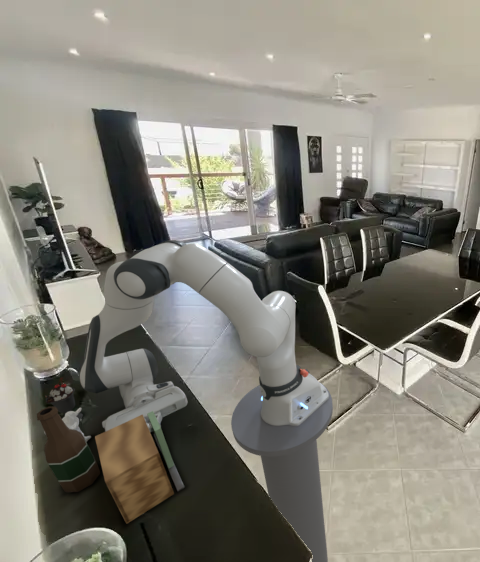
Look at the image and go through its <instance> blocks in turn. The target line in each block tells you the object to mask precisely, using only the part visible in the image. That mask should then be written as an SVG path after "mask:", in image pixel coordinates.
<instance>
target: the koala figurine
mask: <svg viewBox="0 0 480 562" xmlns="http://www.w3.org/2000/svg"><path fill="white" fill-rule="evenodd" d="M82 409H83V408H82V407H79V408H77V410H76V411H74V410H72V411H69V412H67V413H64V416H63V417H62V418H61V419H62V420H63V422H64V423H65V425H66V426H67V427H68V428H69V429H72V430H77V431H79V432H80V433H82V435H83V436H84V438H85V440H86V442H87V443H88V441H89V440H90V439H91V438H92V436H91V435H87V436H85V433H84V432H83V431H82V430H81V428H80V426H79V424H80V420H79V419H78V417H76V416H77V415H78V413H81V412H82ZM43 432H44V434H45V431H44V430H43Z"/></svg>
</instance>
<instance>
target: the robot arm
mask: <svg viewBox="0 0 480 562" xmlns="http://www.w3.org/2000/svg"><path fill="white" fill-rule="evenodd" d="M176 283H180V284H184V285H187V287H189V288H190V289H192V290H193V291H195V292H196V293H197V294H198V295H200V296H201V297H203V298H204V299H205V300H207V301H208V302H209V303H210V304H212V305H213V306H215V307H216V308H217V309H218V310H220V311H221V312H222V313H223V315H224V316H226V318H228V320H229V321H230V322H231V324H232V325H233V327H234V328H235V330H236V332H237V333H238V337H239V342H240V345H241V347H242V349H243V350H244V351H245V352H246V353H247V354H248V355H250V356H253V357H255V358H256V362H257V367H258V373H259V374H258V375H259V377H258V383H259V385H260V391H261V394H262V398H261V400H262V409H261V417H262V419H263V420H264V421H265V422H266V423H268V424H270V425H274V426H283V425H292V426H298V425H300V424H301V423H302V422H303V421H304V420H306V419H307V418H308V417H309V416H310V415H311V414H312V413H313V412H314V411H316V410H317V409H318V408H319V407H320V406H321V405H322V404H323V403H324V402H325V401H327V400H328V398H329V394H328V391H329V390H328V391H327V389H328V388H327V387H326V386H325V385H324V384H323V383H321V382H320V381H319V380H318V379H317V378H316V377H315V376H314V375H312V374H311V373H310V371H309V369H308V368H303V369H302V367H301V366H300V365H298V364H297V362H296V361H297V360H296V352H295V351H296V347H295V346H296V308H297V304H296V301H295V298H294V297H293V296H292V295H291V294H290V293H289V292H287V291H285V290H284V291H283V290H274V291H272V292H271V293H269V294H267V295H266V296H265V297H264V298H262V300H261V298H260V297H259V296H258V294H257V293H256V291H255V289H254V285H253V282H252V281H251V279H250V278H248V276H246V275H244V274H243V273H242V272H241V271H239V270H238V269H237V268H235V267H234V266H233V265H232V264H230V263H229V262H228V261H227V260H225V259H224V258H223V257H221V256H220V255H218V254H216V253H215V252H214V251H211V250H210V249H208V248H207V247H204V246H203V245H201V244H199V243H193V242H191V243H185V242H184V241H181V240H178V239H169V240H165V241H162V242H159V243H158V244H156V245H154V246H151V247H148V248H144V249H143V250H141V251H140V252H137V253H136V254H134V255H133V256H132V257H131V258H128V259H126V260H122V261H117V262H115V263H114V264H112V265H110V266H109V268H107V270H106V274H105V279H104V287H103V288H104V289H103V290H104V293H103V295H104V305H103V308H102V309H101V310H100V312H99V313H98V314H96V315H95V316H93V317H92V318H91V320H90V322H89V326H88V331H87V337H86V344H85V349H84V356H83V361H82V365H81V369H80V372H79V382H80V385H81V387H82V388H83V390H85V391H87V392H90V393H93V394H99V393H103V392H105V391H107V390H110V389H113V388H116V387H118V389H119V393H120V396H121V399H122V401H123V405H124V407H125V408H124V409H122V410H120V411H117V412H116V413H113V414H111V415H109V416H107V418H106V419H104V420H103V421H102V422H101V426H102V428H103V429H104V432H106V431H108V430H110V429H112V428H114V427H117V426H119V425H121V424H123V423H125V422H127V421H129V420H132V419H134V418H136V417H138V416H140V415H142V414H143V417H144V419H145V421H146V424H147V426H148V429H149V431H150V433H151V432H154V431H153V428H152V426H151V423H150V420H149V418H148V415H147V413H150V412H152V411H153V412H154V414H155V416H156V419H157V421H158V422H159V425H160V427H161V428H162V425H161V423H162V421H163V418H164V417H167V416H169V415H170V414H173V413H175V412H176V411H179V410H181V409H183V408H185V407H187V405H188V404H189V402H188V398H187V395H186V394H185V392H184V391H183V390H182V389H181V388H180V387H178V386H176V385H175V384H174V383H173V381H171V380H170V381H165V382H162V383H161V382H160V383H154V381H155V380H156V378H157V376H158V374H159V366H158V362H157V359H156V357H155V355H154V353H153V352H152V351H150V350H149V349H147V348H139V349H133V350H129V351H125V352H121V353H116V354H112V355H108V356H105V353H106V347H107V344H108V343H109V342H110V341H111V340H113V339H114V338H115V337H117V336H119V335H121V334H124V333H125V332H128V331H131V330H133V329H135V328H138V327H140V326H141V325H143V324H144V323H146V321H147V320H148V319H150V318H151V316H152V313H153V311H154V304H155V299H154V297H155V296H158V295H159V294H161V293H162V292H164V291H166V290H167V289H170V287H171V286H172V285H174V284H176ZM322 384H323V385H324V386H325V387H326V388H327V389H326V388H325V387H324V386H323V385H322ZM299 419H300V420H299Z"/></svg>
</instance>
